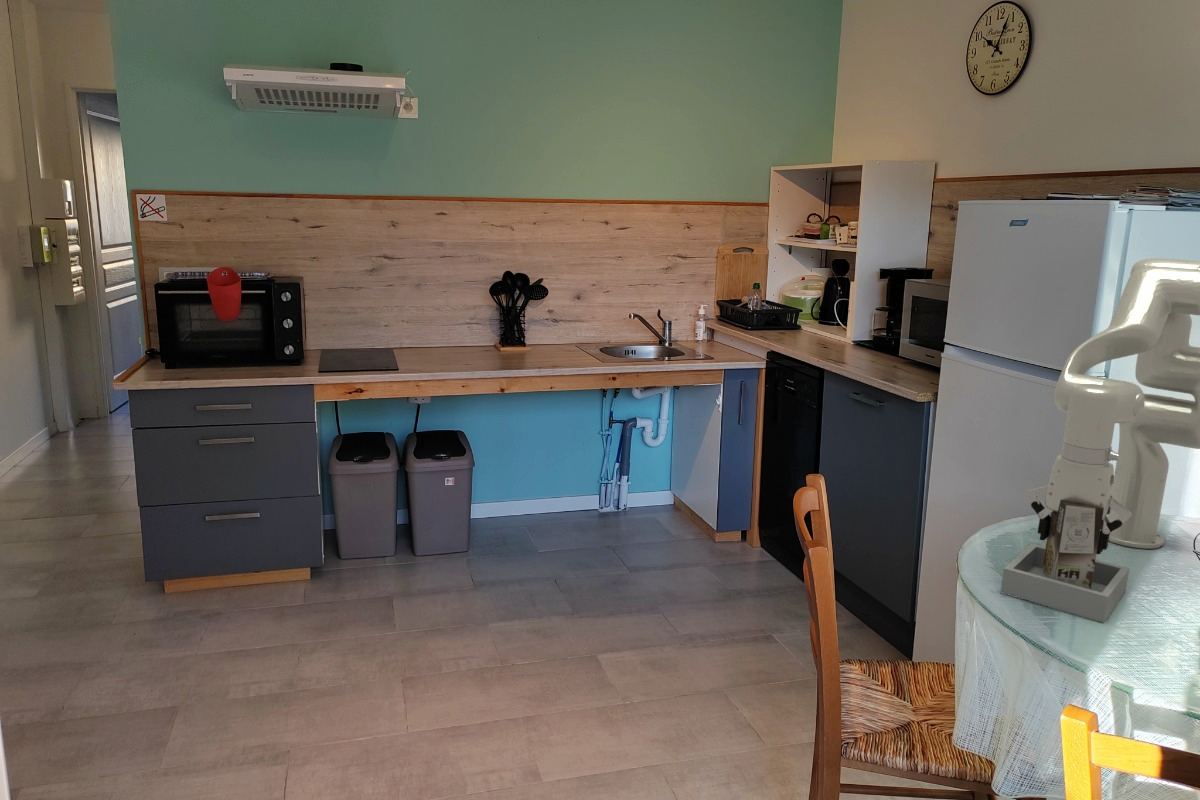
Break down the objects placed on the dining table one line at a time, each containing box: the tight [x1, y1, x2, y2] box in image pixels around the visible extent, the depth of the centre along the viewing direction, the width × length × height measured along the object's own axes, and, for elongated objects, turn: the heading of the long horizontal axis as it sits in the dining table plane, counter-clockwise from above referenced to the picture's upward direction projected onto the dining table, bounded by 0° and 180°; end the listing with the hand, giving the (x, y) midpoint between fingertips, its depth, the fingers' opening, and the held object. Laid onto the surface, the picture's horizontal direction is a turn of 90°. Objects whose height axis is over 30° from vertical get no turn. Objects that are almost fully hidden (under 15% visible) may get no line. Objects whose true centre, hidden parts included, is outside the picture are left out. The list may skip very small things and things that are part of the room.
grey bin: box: [1000, 543, 1130, 624], centre depth 166 cm, size 17×17×5 cm
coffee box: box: [1043, 500, 1104, 590], centre depth 164 cm, size 9×6×16 cm
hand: (1071, 544), depth 165 cm, fingers closed on coffee box, 8 cm apart
